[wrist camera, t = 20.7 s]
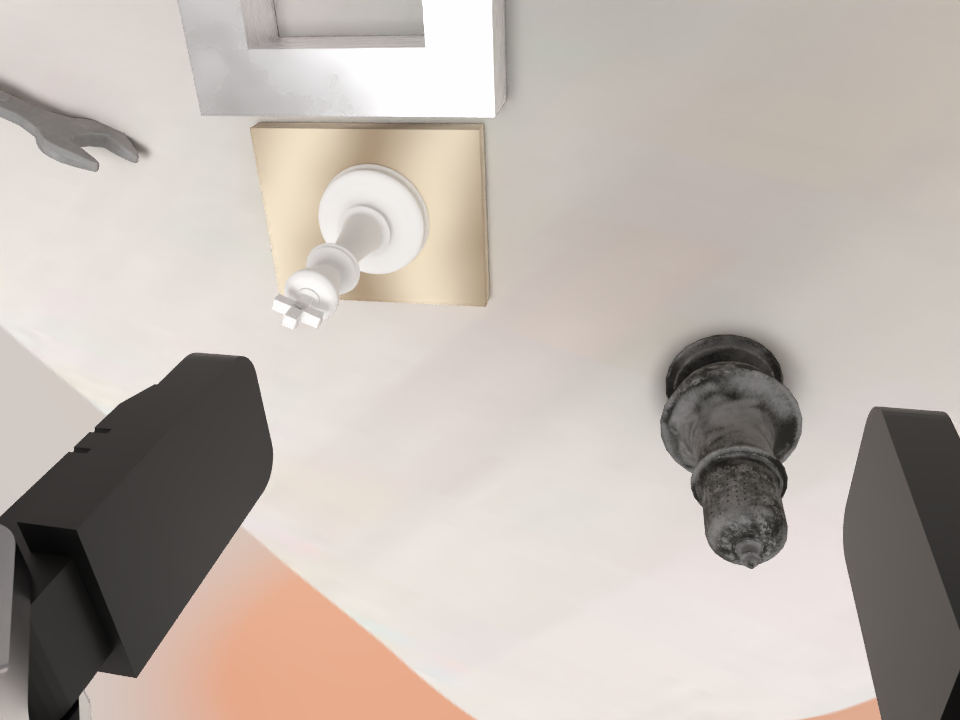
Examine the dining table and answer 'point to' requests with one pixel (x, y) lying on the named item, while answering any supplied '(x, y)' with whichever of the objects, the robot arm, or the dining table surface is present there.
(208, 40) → the socket block
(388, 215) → the chess piece
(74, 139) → the combination wrench
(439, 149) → the birch pad
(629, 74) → the dining table surface
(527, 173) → the dining table surface
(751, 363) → the salt shaker
